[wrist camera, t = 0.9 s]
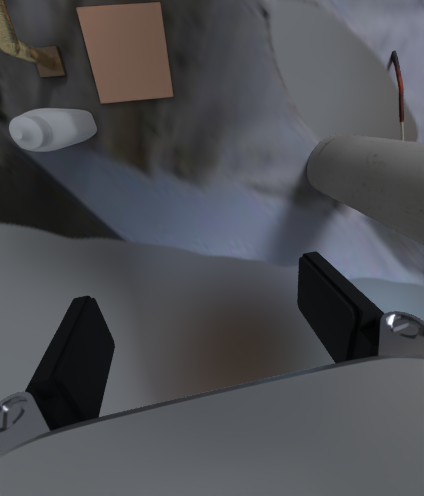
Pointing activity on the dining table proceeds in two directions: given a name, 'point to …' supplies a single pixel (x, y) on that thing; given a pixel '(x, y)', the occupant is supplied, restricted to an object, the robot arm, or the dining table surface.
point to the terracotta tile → (127, 51)
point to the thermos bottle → (373, 179)
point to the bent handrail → (29, 49)
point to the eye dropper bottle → (51, 128)
